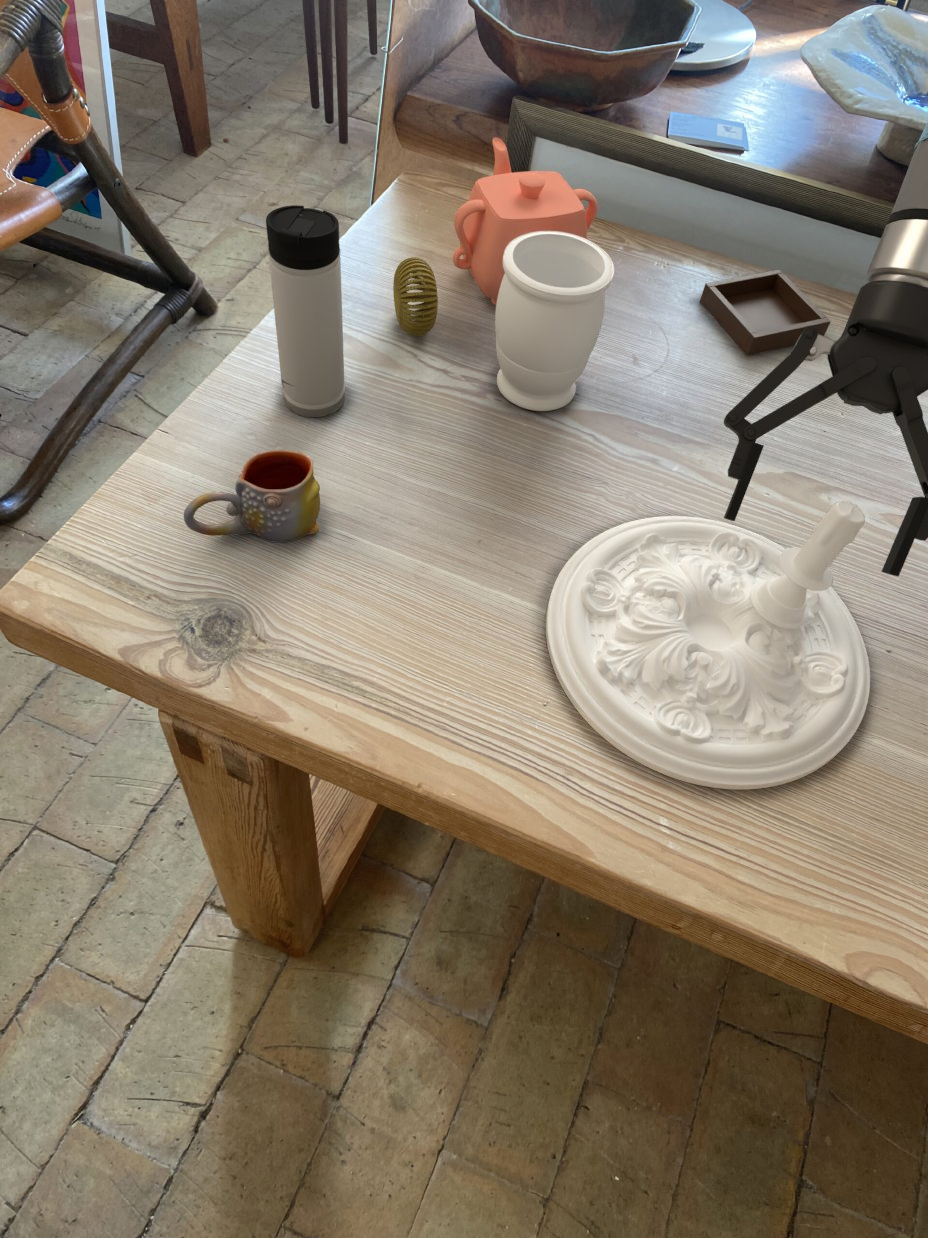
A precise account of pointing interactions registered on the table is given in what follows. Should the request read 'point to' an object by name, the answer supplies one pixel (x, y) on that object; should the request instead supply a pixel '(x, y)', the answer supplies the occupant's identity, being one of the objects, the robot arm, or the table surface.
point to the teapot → (514, 216)
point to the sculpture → (415, 296)
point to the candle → (806, 568)
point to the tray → (762, 311)
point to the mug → (267, 499)
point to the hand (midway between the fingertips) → (807, 546)
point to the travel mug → (307, 307)
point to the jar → (548, 316)
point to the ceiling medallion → (703, 655)
